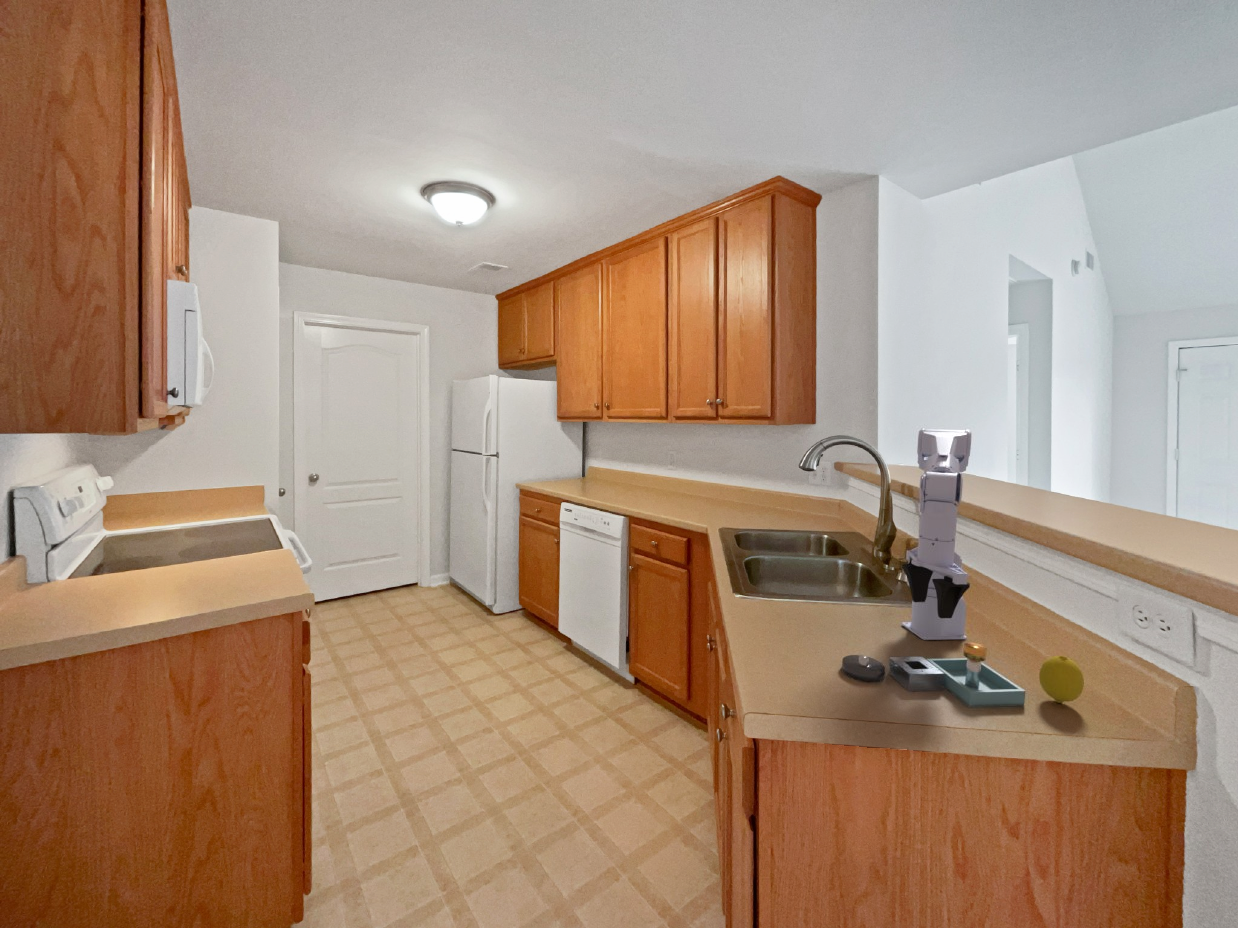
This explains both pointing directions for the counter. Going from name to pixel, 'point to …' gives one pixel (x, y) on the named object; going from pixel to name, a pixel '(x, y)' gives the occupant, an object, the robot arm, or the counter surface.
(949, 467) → the robot arm
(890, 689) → the counter surface
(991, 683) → the tray
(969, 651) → the lock pin
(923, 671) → the dark disc and block
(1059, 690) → the lemon
